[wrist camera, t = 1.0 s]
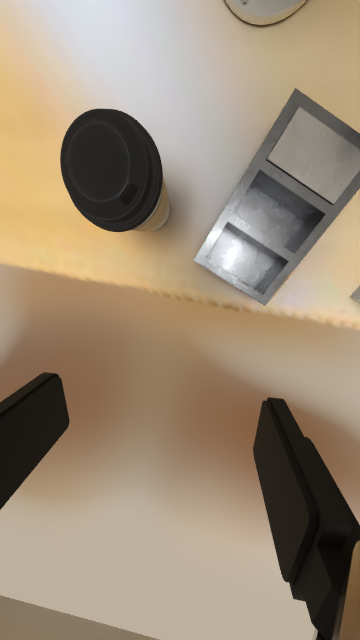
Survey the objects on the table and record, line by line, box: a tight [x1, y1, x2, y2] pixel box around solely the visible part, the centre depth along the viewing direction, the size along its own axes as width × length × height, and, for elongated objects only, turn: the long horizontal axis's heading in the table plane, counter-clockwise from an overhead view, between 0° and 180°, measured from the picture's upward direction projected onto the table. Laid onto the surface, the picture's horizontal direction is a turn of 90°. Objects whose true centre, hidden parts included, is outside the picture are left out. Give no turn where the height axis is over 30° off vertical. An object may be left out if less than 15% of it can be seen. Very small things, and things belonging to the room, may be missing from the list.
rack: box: [194, 88, 360, 305], centre depth 26 cm, size 20×12×6 cm, turn 149°
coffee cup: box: [60, 109, 170, 232], centre depth 23 cm, size 9×9×15 cm
